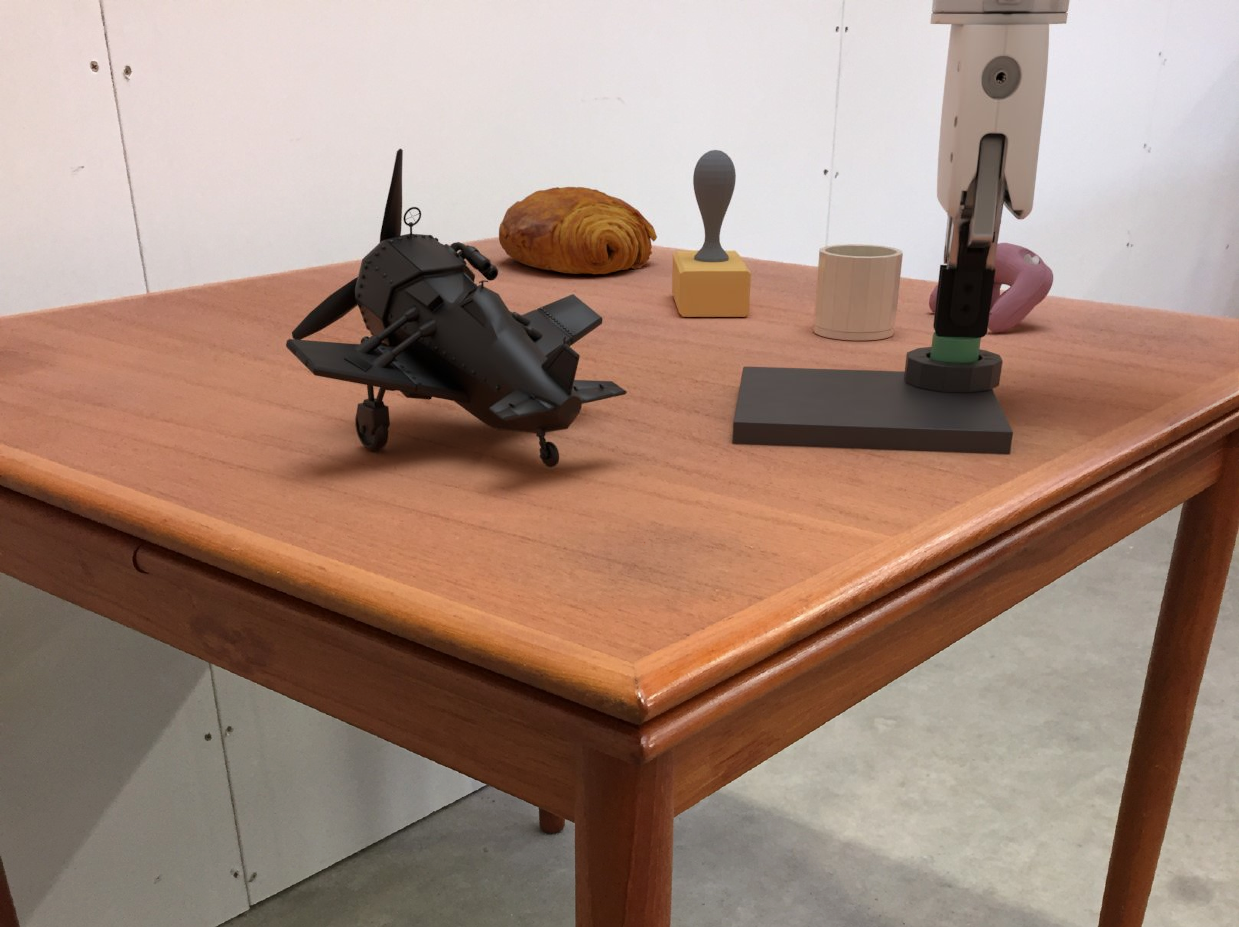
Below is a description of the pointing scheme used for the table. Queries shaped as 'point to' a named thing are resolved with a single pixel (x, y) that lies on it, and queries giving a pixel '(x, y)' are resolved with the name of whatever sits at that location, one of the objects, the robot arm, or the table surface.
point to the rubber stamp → (712, 250)
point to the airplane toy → (451, 338)
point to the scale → (877, 407)
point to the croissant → (576, 232)
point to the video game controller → (1014, 286)
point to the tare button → (955, 349)
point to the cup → (857, 292)
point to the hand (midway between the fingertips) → (959, 333)
